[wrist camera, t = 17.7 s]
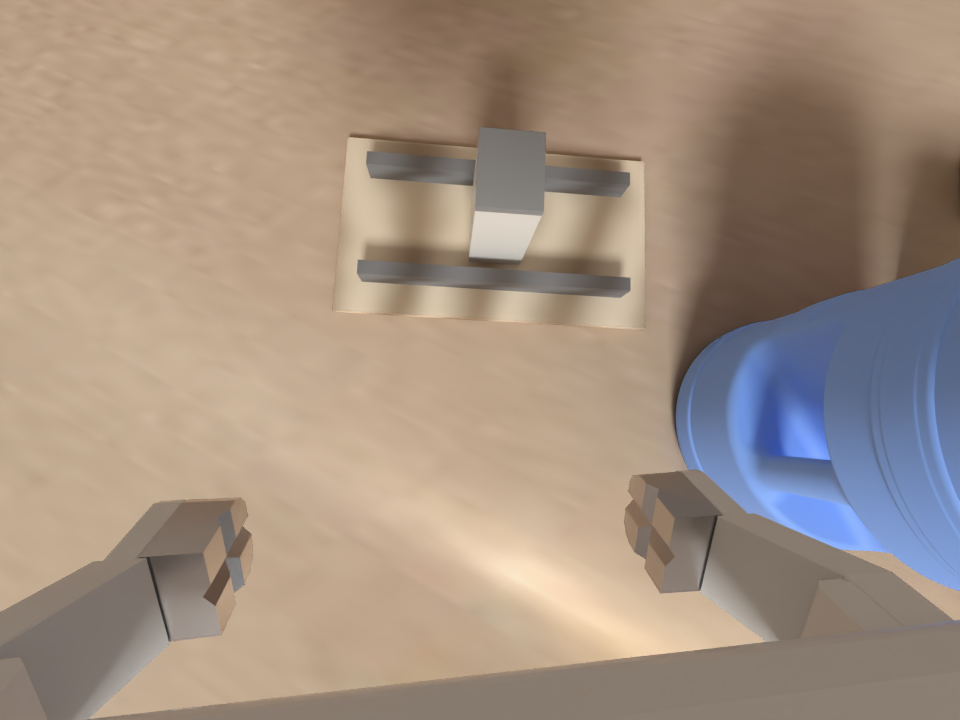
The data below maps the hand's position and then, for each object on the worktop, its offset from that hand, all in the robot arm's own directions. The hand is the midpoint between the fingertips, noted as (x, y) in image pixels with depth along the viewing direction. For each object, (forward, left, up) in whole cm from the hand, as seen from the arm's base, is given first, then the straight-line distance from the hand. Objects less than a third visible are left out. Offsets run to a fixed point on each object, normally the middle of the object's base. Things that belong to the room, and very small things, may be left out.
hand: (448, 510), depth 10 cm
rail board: (+3, +17, -24) cm, 30 cm away
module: (+3, +17, -24) cm, 29 cm away
